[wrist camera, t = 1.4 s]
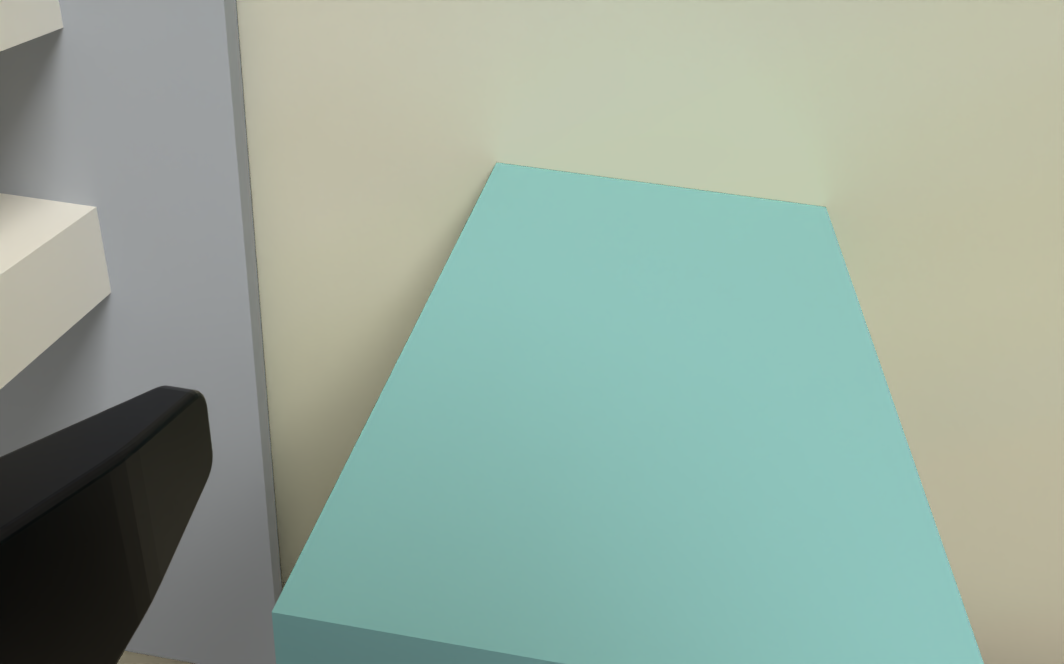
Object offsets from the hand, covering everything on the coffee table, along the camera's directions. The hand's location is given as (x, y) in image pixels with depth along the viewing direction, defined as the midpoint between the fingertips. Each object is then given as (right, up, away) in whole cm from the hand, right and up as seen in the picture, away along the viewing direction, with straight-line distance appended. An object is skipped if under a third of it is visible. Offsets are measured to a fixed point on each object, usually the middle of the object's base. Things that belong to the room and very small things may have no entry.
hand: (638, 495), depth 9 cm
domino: (+1, +3, +5) cm, 6 cm away
